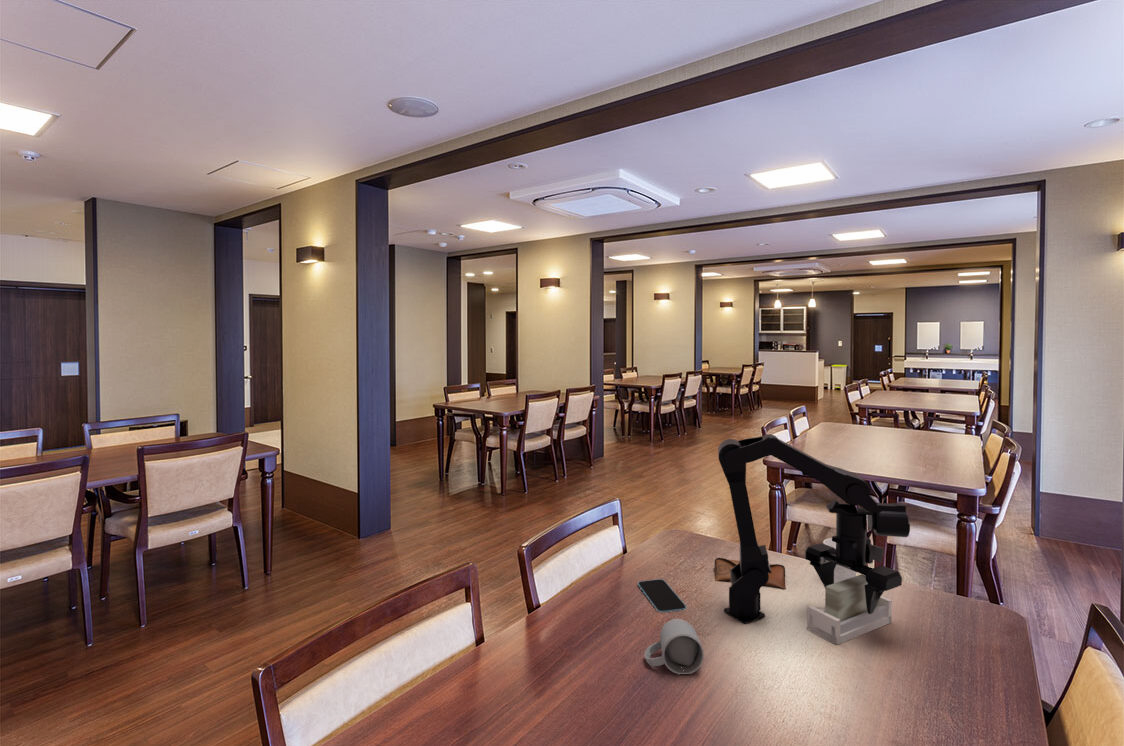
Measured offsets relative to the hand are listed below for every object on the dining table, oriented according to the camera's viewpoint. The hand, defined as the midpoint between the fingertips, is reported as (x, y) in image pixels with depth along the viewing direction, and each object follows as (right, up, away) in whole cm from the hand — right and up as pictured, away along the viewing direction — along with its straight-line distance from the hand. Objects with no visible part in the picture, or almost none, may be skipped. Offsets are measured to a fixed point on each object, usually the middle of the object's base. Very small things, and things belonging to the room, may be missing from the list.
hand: (849, 604), depth 117 cm
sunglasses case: (-13, -4, +24) cm, 28 cm away
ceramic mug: (-40, -7, -12) cm, 43 cm away
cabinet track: (0, -5, 0) cm, 5 cm away
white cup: (+9, -4, +21) cm, 23 cm away
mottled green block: (0, -3, 0) cm, 3 cm away
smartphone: (-38, -5, +15) cm, 41 cm away
